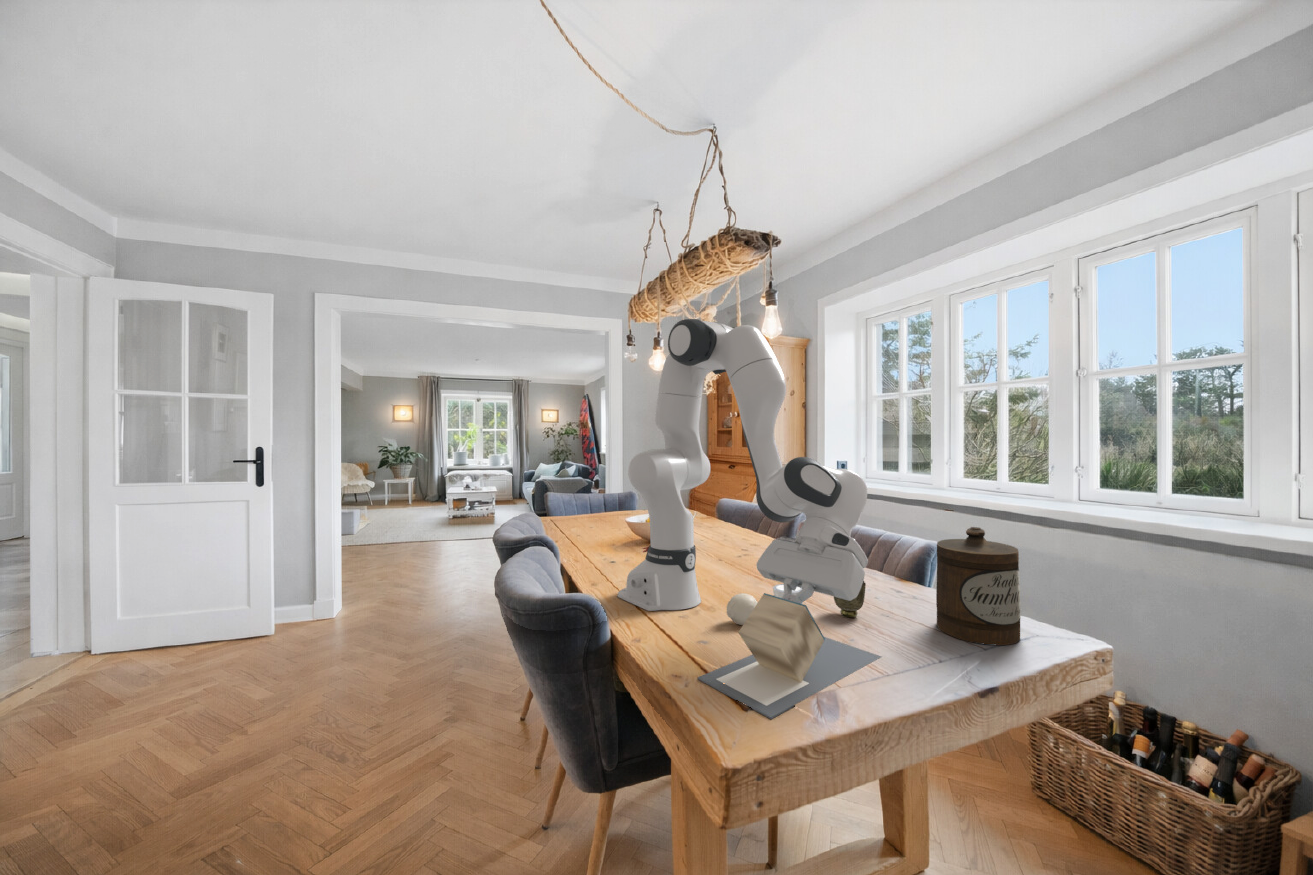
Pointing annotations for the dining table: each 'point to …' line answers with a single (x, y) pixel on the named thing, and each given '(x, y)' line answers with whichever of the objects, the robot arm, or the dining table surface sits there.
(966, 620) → the wooden container
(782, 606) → the maple cube
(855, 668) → the charcoal mat
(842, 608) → the cup
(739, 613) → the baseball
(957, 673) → the dining table surface
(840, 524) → the robot arm
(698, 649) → the dining table surface
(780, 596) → the white cylindrical piece
